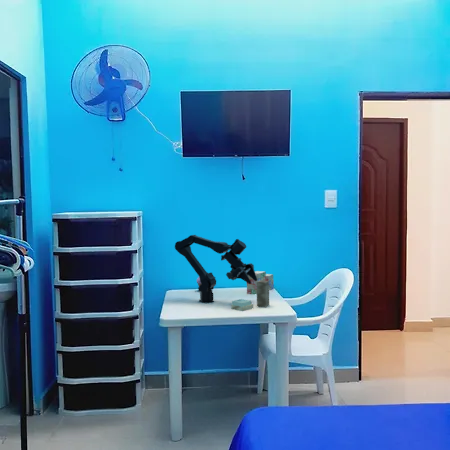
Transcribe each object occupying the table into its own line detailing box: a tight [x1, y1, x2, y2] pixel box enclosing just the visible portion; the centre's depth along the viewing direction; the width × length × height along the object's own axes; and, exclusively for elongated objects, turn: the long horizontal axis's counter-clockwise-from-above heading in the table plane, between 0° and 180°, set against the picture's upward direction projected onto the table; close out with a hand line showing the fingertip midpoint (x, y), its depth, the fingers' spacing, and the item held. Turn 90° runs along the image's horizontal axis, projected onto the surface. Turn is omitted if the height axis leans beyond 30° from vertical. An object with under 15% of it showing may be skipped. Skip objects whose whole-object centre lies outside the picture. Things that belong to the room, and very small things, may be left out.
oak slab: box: [230, 303, 254, 312], centre depth 238 cm, size 8×8×2 cm
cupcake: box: [196, 277, 201, 287], centre depth 288 cm, size 9×9×10 cm
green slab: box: [231, 298, 252, 307], centre depth 238 cm, size 7×7×2 cm
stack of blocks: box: [246, 270, 275, 295], centre depth 284 cm, size 21×6×12 cm, turn 144°
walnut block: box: [256, 280, 270, 308], centre depth 243 cm, size 5×5×13 cm
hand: (253, 281), depth 244 cm, fingers open, 9 cm apart
